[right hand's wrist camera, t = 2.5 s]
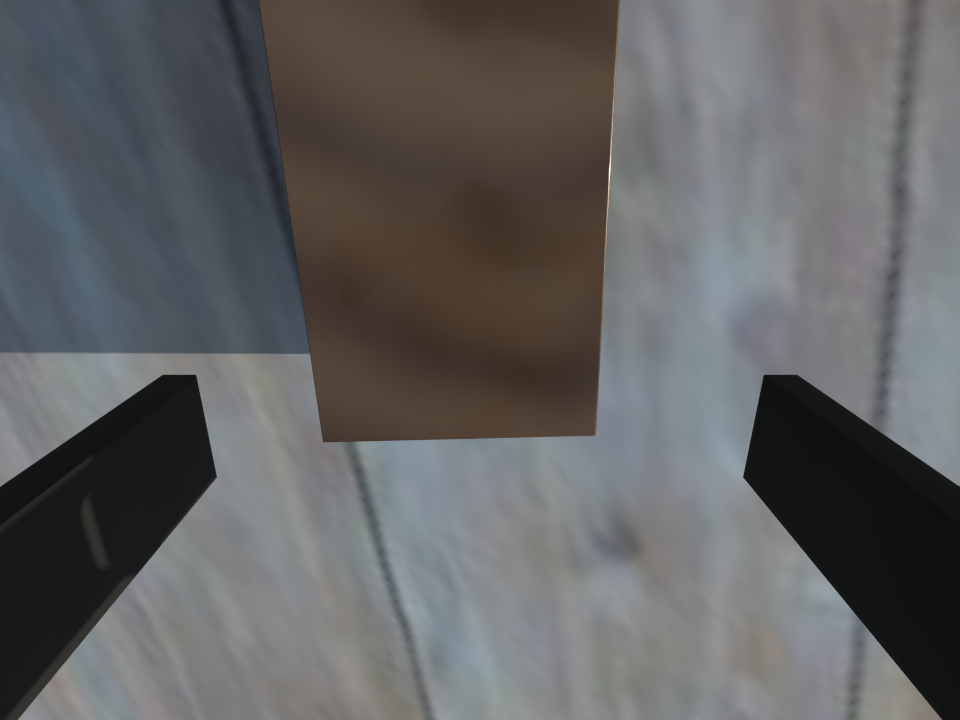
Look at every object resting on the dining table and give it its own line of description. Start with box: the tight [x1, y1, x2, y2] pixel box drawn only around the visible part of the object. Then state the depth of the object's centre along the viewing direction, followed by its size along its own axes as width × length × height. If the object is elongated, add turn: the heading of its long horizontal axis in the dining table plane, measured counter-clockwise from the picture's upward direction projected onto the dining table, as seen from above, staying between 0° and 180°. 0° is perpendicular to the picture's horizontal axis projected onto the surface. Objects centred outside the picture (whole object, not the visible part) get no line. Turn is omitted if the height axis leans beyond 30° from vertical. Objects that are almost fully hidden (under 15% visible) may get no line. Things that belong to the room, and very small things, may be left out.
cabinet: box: [258, 0, 620, 442], centre depth 23 cm, size 22×11×10 cm, turn 1°
